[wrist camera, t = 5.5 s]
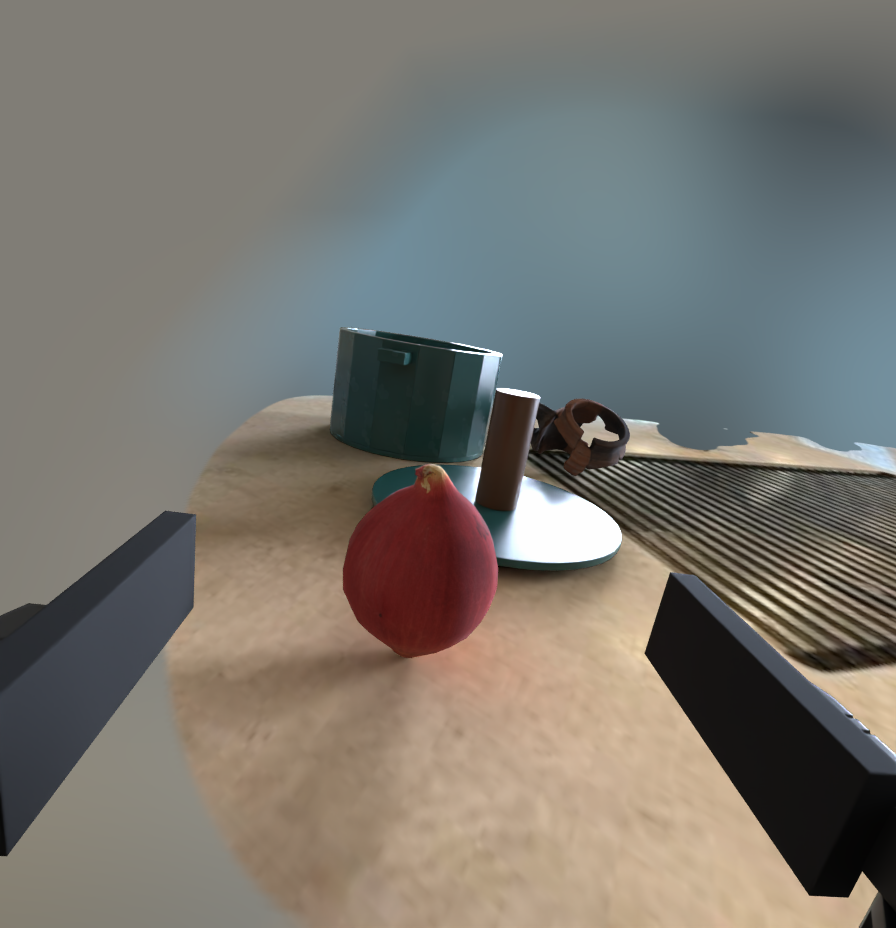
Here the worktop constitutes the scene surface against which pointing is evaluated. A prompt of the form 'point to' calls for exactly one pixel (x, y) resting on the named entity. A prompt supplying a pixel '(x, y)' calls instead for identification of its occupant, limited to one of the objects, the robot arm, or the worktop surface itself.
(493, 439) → the lid
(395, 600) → the onion
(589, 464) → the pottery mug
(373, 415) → the pot
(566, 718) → the worktop surface
